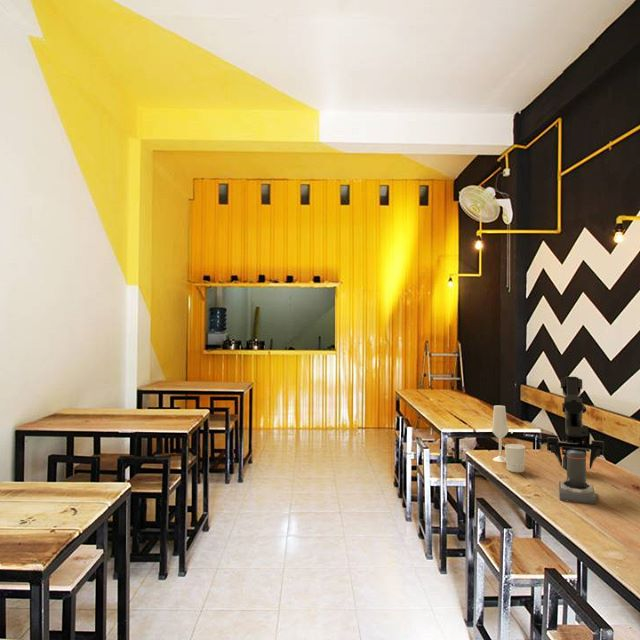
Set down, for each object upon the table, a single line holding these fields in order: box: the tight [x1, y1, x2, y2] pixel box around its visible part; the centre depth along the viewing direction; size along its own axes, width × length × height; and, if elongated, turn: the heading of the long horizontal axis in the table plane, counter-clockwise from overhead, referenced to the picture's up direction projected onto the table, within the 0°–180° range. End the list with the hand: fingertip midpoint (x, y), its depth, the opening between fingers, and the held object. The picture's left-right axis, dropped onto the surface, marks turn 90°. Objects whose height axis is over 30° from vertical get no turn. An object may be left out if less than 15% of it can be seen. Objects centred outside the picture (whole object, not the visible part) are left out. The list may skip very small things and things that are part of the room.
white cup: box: [504, 443, 526, 473], centre depth 206 cm, size 8×8×10 cm
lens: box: [566, 450, 587, 489], centre depth 175 cm, size 6×6×13 cm
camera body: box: [558, 479, 597, 505], centre depth 175 cm, size 13×11×4 cm
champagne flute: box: [491, 404, 509, 463], centre depth 221 cm, size 7×7×24 cm
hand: (575, 466), depth 177 cm, fingers open, 9 cm apart
